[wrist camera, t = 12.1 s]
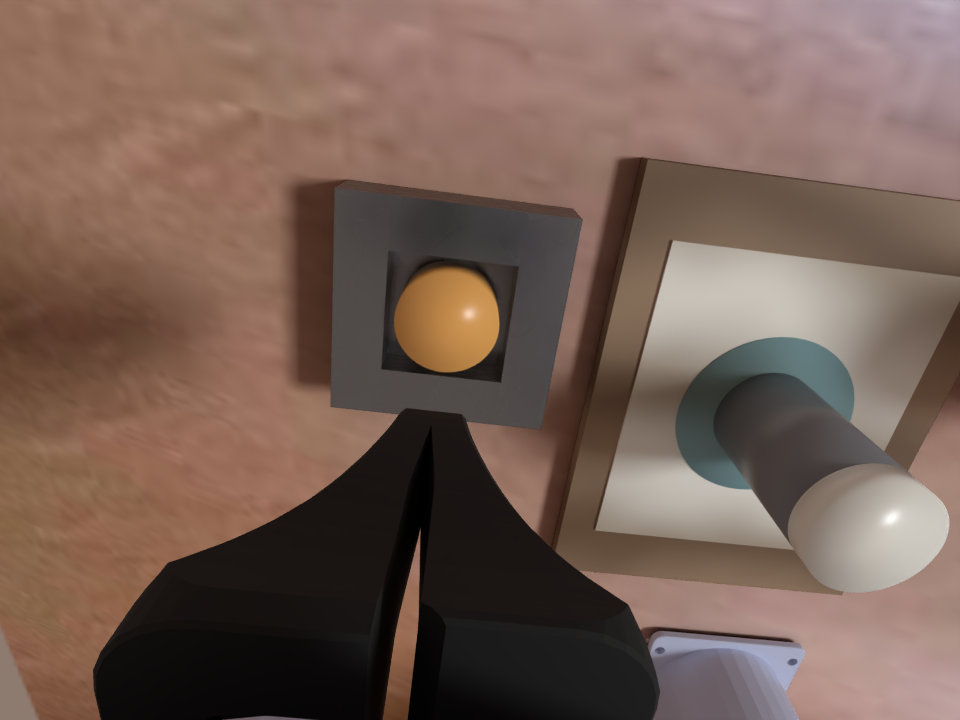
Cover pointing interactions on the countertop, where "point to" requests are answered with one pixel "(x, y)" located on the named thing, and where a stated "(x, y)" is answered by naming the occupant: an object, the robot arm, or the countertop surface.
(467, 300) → the button
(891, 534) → the grey domed cylinder
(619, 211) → the countertop surface
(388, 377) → the button housing
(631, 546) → the picture frame
